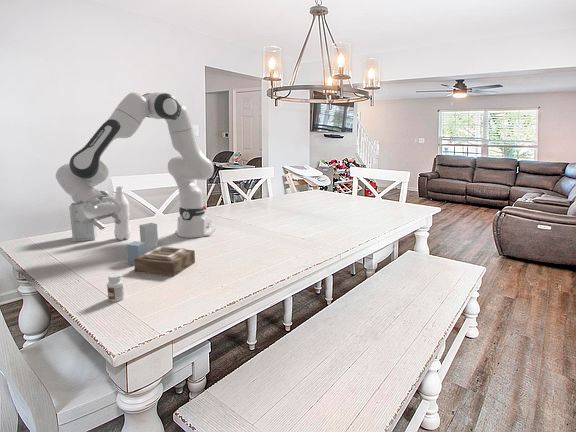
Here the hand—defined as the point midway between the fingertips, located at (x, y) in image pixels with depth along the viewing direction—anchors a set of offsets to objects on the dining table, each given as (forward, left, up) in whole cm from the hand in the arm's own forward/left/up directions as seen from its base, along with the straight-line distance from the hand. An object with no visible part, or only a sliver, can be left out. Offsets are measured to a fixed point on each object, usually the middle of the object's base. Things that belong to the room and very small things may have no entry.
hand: (111, 225), depth 151 cm
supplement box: (-21, -32, -14) cm, 41 cm away
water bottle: (-26, -15, -14) cm, 33 cm away
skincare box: (-13, +8, -14) cm, 21 cm away
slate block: (0, +11, -14) cm, 18 cm away
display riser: (+2, +25, -14) cm, 28 cm away
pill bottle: (+32, +26, -14) cm, 43 cm away
